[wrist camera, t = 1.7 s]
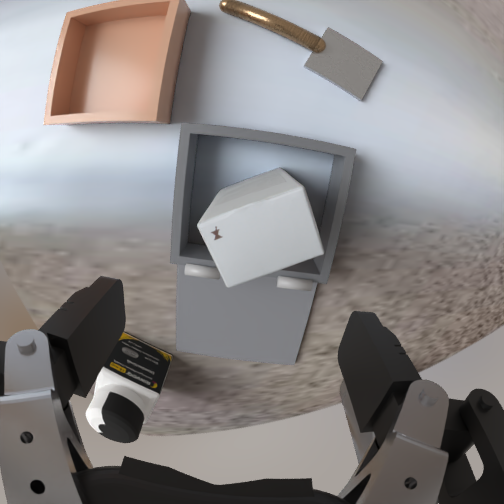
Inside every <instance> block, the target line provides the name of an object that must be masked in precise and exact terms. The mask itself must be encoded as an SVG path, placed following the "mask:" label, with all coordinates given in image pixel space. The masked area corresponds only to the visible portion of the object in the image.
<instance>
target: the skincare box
mask: <svg viewBox="0 0 504 504" xmlns="http://www.w3.org/2000/svg"><path fill="white" fill-rule="evenodd" d="M197 227H198V229H199V231H200V233H201V235H202V237H203V239H204V241H205V243H206V245H207V247H208V250H209V252H210V254H211V256H212V258H213V260H214V262H215V264H216V266H217V268H218V270H219V272H220V274H221V276H222V278H223V281H224V283H225V285H226V286H227V287H228V288H230V287H233V286H236V285H239V284H242V283H245V282H248V281H251V280H254V279H256V278H259V277H262V276H265V275H268V274H271V273H273V272H276V271H279V270H281V269H284V268H287V267H290V266H292V265H295V264H298V263H300V262H303V261H306V260H309V259H312V258H314V257H317V256H320V255H323V254H324V249H323V246H322V242H321V239H320V235H319V231H318V228H317V225H316V221H315V218H314V215H313V212H312V208H311V205H310V202H309V199H308V196H307V193H306V190H305V187H304V186H303V185H302V184H300V183H299V182H298V181H296V180H295V179H294V178H293V177H292V176H290V175H289V174H288V173H287V172H286V171H284V170H283V169H282V168H280V167H279V168H276V169H273V170H270V171H268V172H265V173H262V174H259V175H257V176H254V177H251V178H249V179H246V180H243V181H241V182H238V183H235V184H233V185H230V186H228V187H225V188H223V189H220V191H219V192H218V194H217V195H216V197H215V198H214V200H213V201H212V203H211V204H210V206H209V207H208V209H207V210H206V212H205V213H204V215H203V216H202V218H201V219H200V221H199V222H198V224H197Z"/></svg>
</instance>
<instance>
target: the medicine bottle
mask: <svg viewBox="0 0 504 504" xmlns="http://www.w3.org/2000/svg"><path fill="white" fill-rule="evenodd" d="M171 361H172V355H170V354H168V353H166V352H164V351H162V350H159V349H157V348H155V347H153V346H151V345H149V344H147V343H145V342H143V341H141V340H139V339H137V338H135V337H133V336H131V335H129V334H127V333H125V332H123V334H122V336H121V337H120V339H119V341H118V342H117V344H116V346H115V347H114V349H113V351H112V352H111V354H110V356H109V357H108V359H107V361H106V363H105V364H104V366H103V368H102V369H101V371H100V373H99V375H98V376H97V381H96V386H95V392H94V397H93V400H92V401H91V403H90V405H89V407H88V409H87V411H86V417H87V420H88V422H89V424H90V425H91V426H92V427H93V428H94V429H95V430H96V431H97V432H98V433H100V434H101V435H103V436H104V437H106V438H108V439H110V440H113V441H117V442H122V443H130V442H134V441H135V440H137V439H138V437H139V434H140V431H141V428H142V425H143V424H145V423H146V422H147V421H148V419H149V416H150V414H151V412H152V410H153V408H154V406H155V404H156V402H157V400H158V398H159V396H160V394H161V391H162V388H163V385H164V382H165V379H166V376H167V373H168V370H169V367H170V364H171Z"/></svg>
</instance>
